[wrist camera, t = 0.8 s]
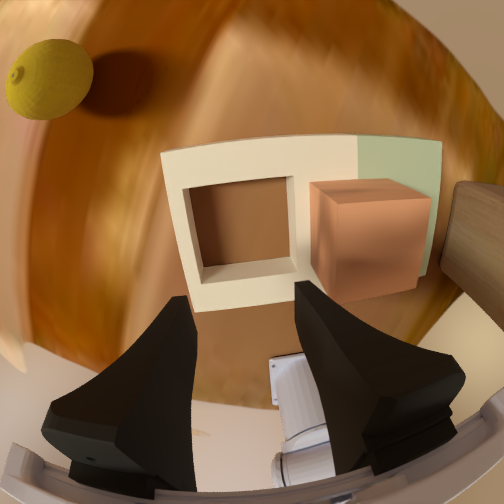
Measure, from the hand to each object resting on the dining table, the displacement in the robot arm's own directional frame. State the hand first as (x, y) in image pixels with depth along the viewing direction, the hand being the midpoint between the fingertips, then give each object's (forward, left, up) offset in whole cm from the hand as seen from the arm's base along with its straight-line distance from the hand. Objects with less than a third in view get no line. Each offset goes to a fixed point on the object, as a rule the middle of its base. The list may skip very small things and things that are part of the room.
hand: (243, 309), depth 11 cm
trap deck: (0, -6, -10) cm, 12 cm away
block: (0, -8, -8) cm, 11 cm away
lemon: (+13, +10, -11) cm, 20 cm away
